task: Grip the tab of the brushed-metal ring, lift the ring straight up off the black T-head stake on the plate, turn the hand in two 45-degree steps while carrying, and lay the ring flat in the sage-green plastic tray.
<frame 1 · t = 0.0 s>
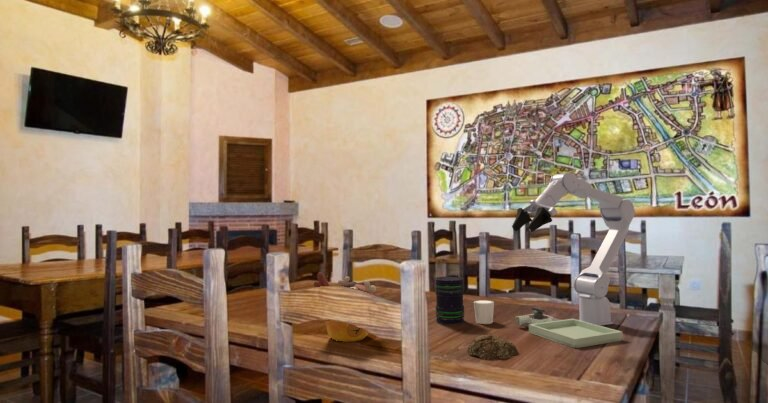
hand: (521, 229, 148), 32 cm above the table, tool tilted 50°, fingers open, 7 cm apart
tray: (574, 336, 142), on the table
ring: (538, 321, 157), point 1 cm above the table, touching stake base
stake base: (543, 324, 157), on the table
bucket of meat: (346, 338, 145), on the table
brown lumpy mound: (490, 354, 128), on the table
shot glass: (484, 322, 163), on the table
storage jar: (450, 322, 164), on the table
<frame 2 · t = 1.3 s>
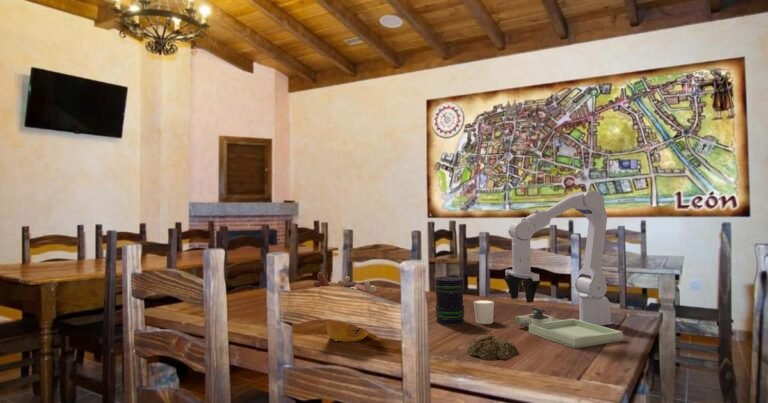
hand: (522, 300, 154), 9 cm above the table, tool pointing down, fingers open, 7 cm apart
nothing on the table moved.
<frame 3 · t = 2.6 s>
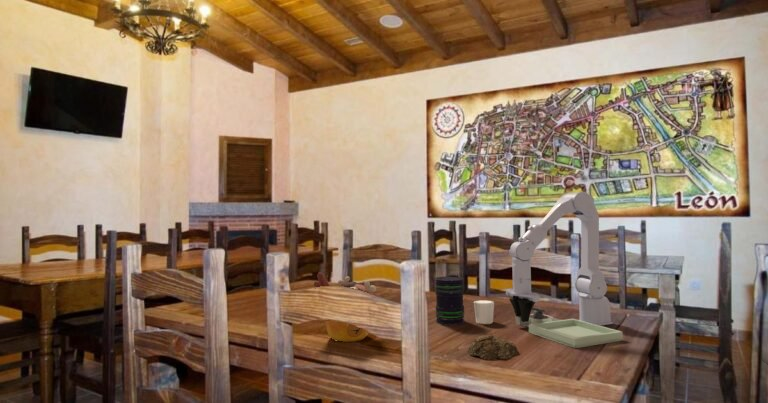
hand: (522, 320, 154), 2 cm above the table, tool pointing down, fingers closed on ring, 2 cm apart
ring: (538, 321, 157), point 1 cm above the table, touching gripper, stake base
everything else where it was.
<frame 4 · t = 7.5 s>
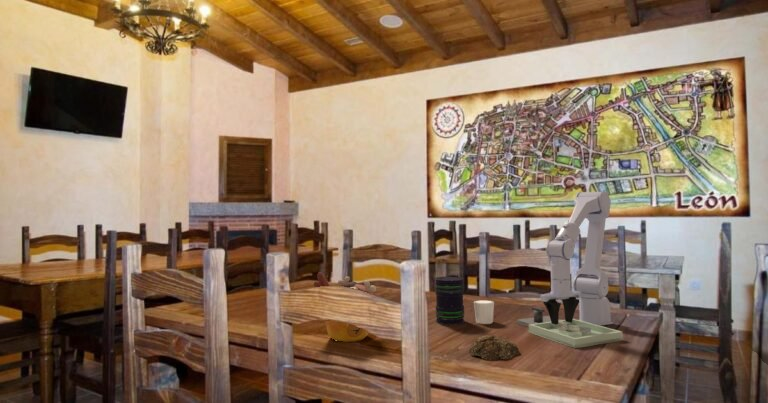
hand: (561, 322, 147), 3 cm above the table, tool pointing down, fingers open, 5 cm apart
ring: (574, 334, 142), point 1 cm above the table, touching tray
everything else where it was.
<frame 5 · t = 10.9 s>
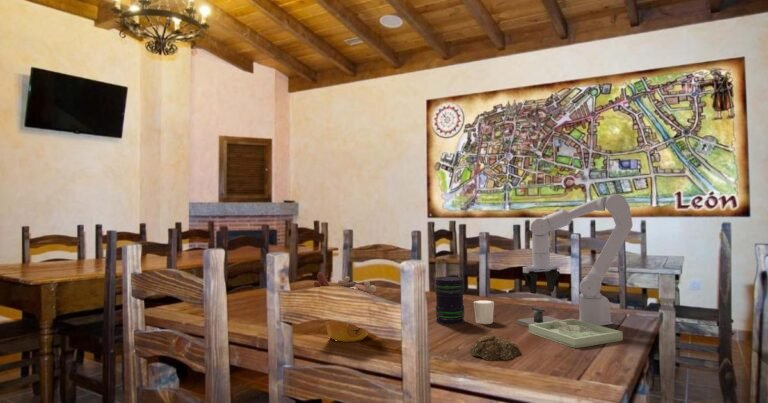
hand: (541, 292, 165), 9 cm above the table, tool pointing down, fingers open, 7 cm apart
nothing on the table moved.
at the end: ring inside the target area on the tray (0.1 cm from its centre), point 0.8 cm above the tray's base; ring tilted 0°; the gripper is holding nothing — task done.
